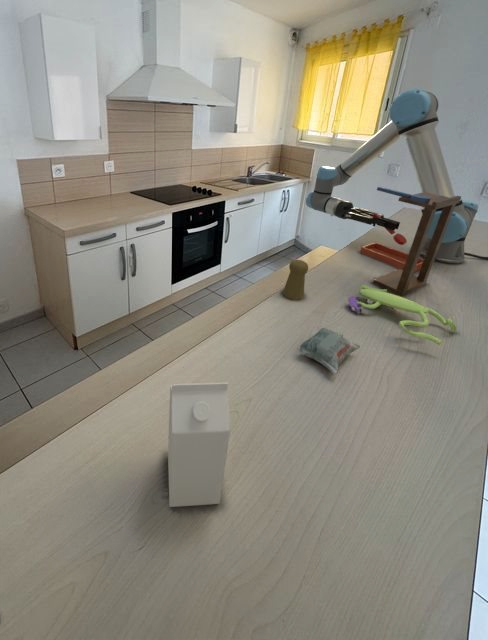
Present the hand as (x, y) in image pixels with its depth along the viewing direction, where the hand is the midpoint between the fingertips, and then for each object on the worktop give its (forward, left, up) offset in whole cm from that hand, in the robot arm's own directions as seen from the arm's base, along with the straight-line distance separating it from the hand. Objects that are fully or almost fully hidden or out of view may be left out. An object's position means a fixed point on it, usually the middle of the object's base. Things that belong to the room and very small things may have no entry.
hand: (396, 226), depth 119 cm
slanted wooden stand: (-5, +21, -13) cm, 25 cm away
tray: (-1, +1, -13) cm, 13 cm away
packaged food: (+9, +71, -13) cm, 72 cm away
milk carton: (+21, +110, -13) cm, 112 cm away
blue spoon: (+2, +24, +16) cm, 28 cm away
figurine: (-4, +44, -13) cm, 46 cm away
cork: (+23, +49, -13) cm, 55 cm away
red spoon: (+2, -1, -2) cm, 3 cm away
